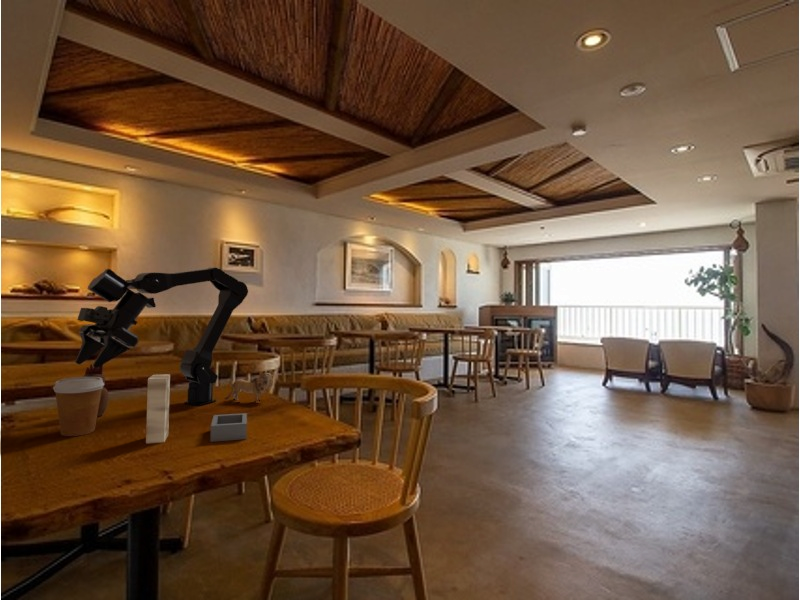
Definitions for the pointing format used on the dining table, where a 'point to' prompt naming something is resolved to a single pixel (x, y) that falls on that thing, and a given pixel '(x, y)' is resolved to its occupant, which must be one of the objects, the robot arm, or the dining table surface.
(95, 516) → the dining table surface
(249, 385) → the lion figurine
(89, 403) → the disposable coffee cup
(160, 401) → the slat
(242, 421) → the end cap
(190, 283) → the robot arm
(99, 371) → the wooden figurine
